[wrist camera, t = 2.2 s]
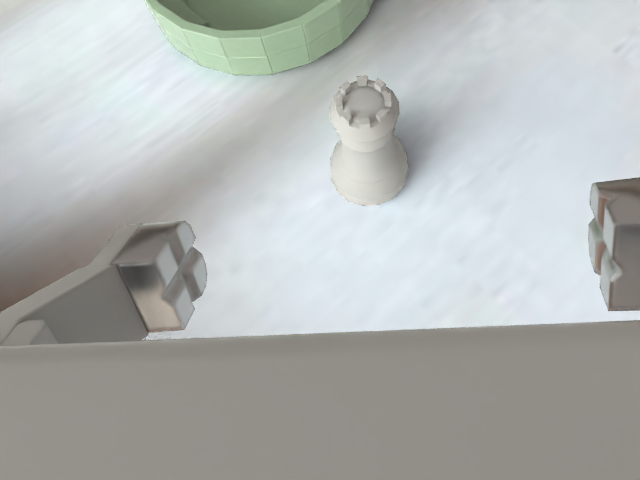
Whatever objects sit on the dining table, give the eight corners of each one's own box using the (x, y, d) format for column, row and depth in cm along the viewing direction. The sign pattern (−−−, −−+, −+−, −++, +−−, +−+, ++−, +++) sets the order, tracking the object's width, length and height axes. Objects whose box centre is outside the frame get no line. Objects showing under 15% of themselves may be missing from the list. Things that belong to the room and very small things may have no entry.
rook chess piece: (315, 167, 35) (294, 93, 27) (377, 124, 35) (373, 40, 28) (361, 224, 33) (352, 163, 26) (424, 179, 34) (434, 105, 26)
